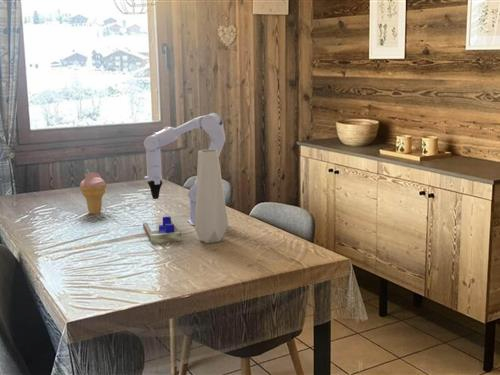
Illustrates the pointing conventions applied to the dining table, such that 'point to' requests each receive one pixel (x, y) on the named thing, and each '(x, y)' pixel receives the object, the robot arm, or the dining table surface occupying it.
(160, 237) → the guide
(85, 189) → the ice cream cone
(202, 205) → the vase
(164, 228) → the cable clip
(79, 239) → the dining table surface
